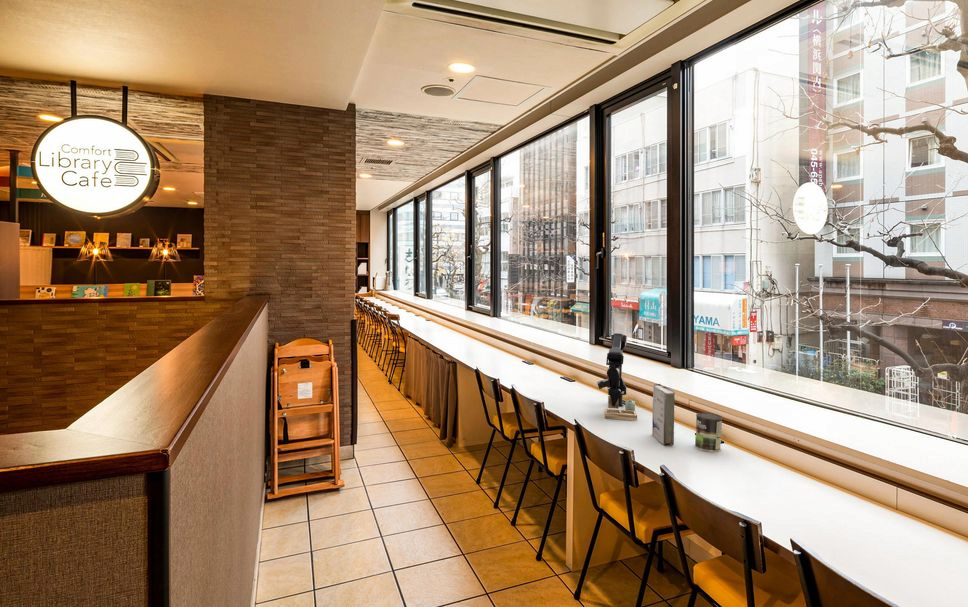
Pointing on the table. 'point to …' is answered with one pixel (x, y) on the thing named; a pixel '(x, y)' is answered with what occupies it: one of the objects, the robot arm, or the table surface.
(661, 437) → the book
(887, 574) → the table surface
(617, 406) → the walnut block
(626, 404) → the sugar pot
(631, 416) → the caddy base
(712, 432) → the coffee can
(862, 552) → the table surface
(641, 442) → the table surface
